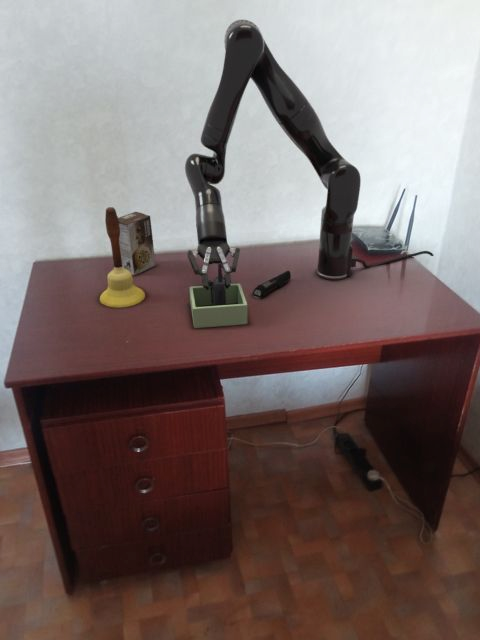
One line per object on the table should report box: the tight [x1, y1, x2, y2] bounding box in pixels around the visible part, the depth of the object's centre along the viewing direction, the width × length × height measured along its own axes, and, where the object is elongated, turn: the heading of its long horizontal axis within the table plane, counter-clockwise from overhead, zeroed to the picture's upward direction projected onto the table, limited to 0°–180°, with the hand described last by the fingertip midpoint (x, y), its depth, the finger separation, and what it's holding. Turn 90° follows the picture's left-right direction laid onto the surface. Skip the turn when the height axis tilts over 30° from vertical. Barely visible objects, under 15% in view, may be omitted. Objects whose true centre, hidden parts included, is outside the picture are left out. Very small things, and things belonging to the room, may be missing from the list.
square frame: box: [188, 283, 248, 329], centre depth 143 cm, size 14×13×6 cm
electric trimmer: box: [252, 270, 292, 299], centre depth 157 cm, size 4×16×3 cm, turn 143°
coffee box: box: [118, 211, 156, 276], centre depth 164 cm, size 9×6×16 cm
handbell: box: [99, 206, 146, 308], centre depth 145 cm, size 12×12×25 cm
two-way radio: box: [208, 263, 227, 306], centre depth 140 cm, size 6×4×15 cm
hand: (217, 288), depth 140 cm, fingers closed on two-way radio, 4 cm apart
